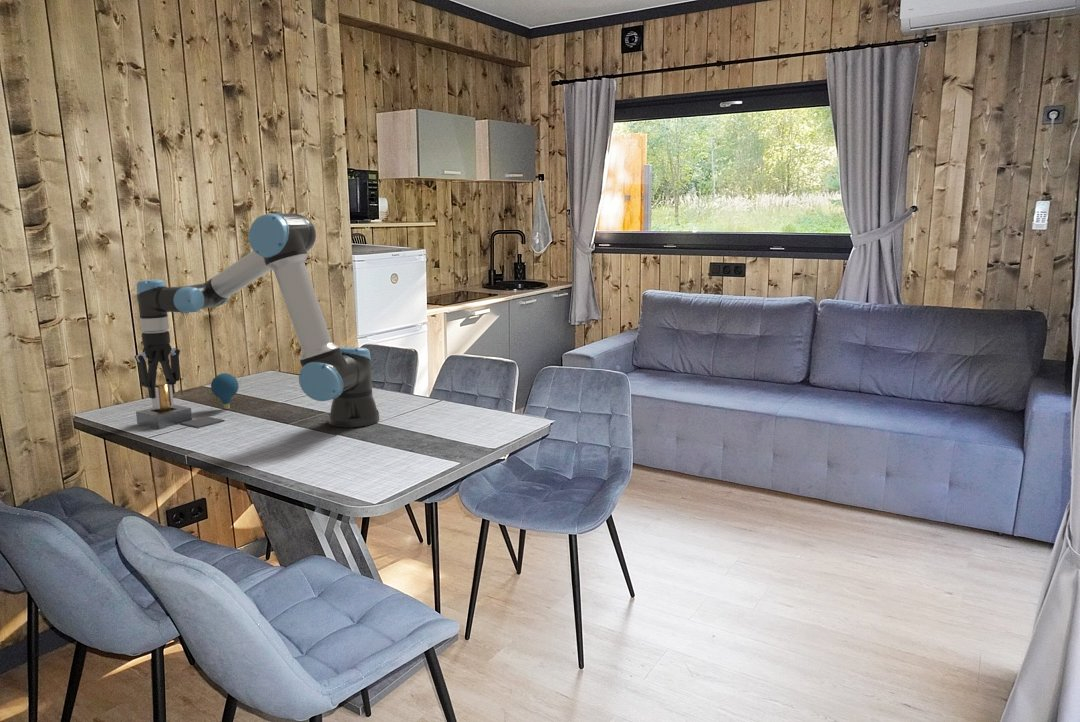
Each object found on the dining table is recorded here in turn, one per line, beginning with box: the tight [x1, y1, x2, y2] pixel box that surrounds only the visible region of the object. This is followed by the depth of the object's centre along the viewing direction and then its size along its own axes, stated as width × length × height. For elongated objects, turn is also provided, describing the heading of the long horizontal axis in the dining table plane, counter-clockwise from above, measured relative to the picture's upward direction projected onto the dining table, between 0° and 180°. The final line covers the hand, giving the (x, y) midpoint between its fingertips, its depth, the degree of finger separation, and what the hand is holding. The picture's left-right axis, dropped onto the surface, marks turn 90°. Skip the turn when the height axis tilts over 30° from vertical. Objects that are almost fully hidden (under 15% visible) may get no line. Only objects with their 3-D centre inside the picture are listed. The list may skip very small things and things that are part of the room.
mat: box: [179, 415, 225, 429], centre depth 233 cm, size 9×9×1 cm
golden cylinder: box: [155, 382, 171, 413], centre depth 232 cm, size 4×4×12 cm
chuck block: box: [135, 404, 193, 430], centre depth 233 cm, size 11×11×4 cm
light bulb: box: [210, 372, 240, 410], centre depth 248 cm, size 8×8×12 cm
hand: (163, 406), depth 232 cm, fingers closed on golden cylinder, 4 cm apart
